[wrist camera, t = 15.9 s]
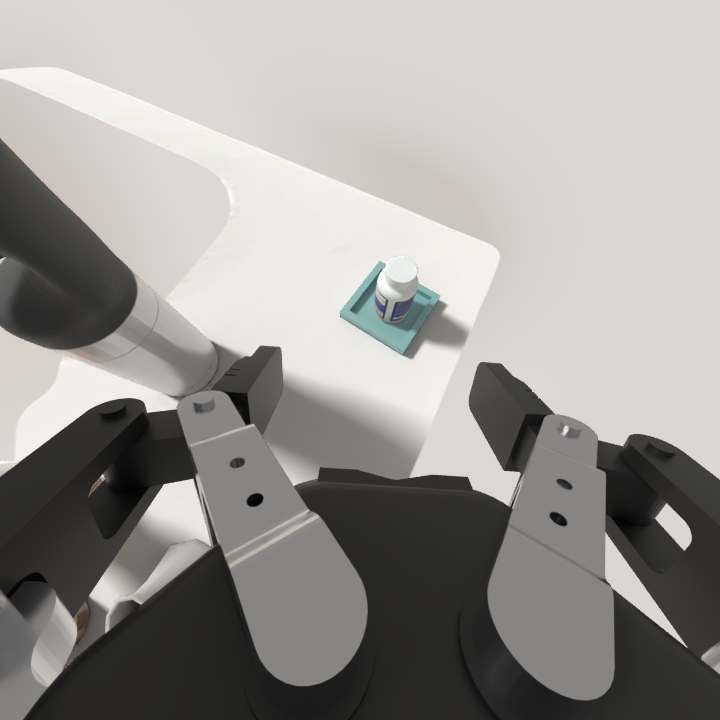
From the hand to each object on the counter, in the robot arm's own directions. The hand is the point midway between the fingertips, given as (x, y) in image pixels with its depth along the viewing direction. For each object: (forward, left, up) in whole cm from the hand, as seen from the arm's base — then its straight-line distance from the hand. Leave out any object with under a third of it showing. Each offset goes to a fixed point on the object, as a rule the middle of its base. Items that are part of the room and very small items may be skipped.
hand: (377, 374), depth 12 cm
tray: (-6, +19, -29) cm, 35 cm away
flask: (-7, -23, -29) cm, 38 cm away
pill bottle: (-6, +19, -28) cm, 35 cm away
